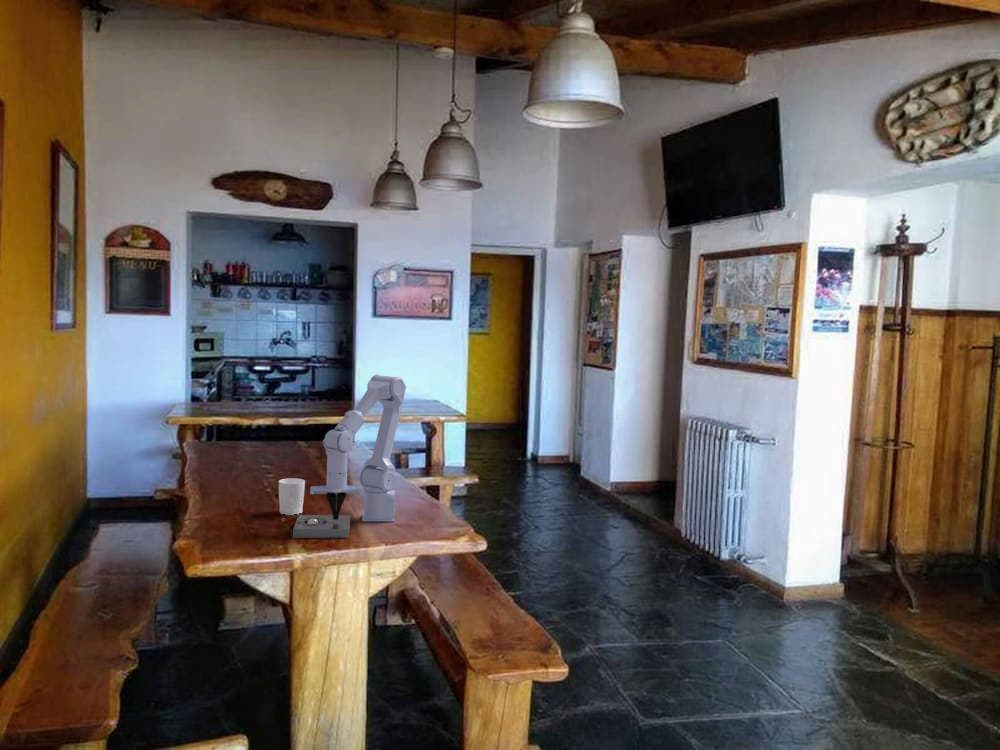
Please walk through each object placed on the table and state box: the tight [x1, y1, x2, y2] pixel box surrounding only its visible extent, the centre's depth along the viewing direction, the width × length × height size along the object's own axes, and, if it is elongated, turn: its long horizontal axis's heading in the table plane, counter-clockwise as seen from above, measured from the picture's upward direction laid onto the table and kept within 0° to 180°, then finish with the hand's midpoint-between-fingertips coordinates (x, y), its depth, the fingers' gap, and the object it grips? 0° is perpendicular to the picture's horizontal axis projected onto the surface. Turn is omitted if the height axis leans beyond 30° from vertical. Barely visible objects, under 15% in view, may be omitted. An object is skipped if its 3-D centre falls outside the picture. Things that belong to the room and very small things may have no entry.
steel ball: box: [307, 518, 319, 524], centre depth 215 cm, size 3×3×3 cm
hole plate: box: [292, 514, 351, 539], centre depth 215 cm, size 15×15×2 cm
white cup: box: [278, 477, 306, 516], centre depth 232 cm, size 8×8×10 cm
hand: (335, 518), depth 215 cm, fingers closed
